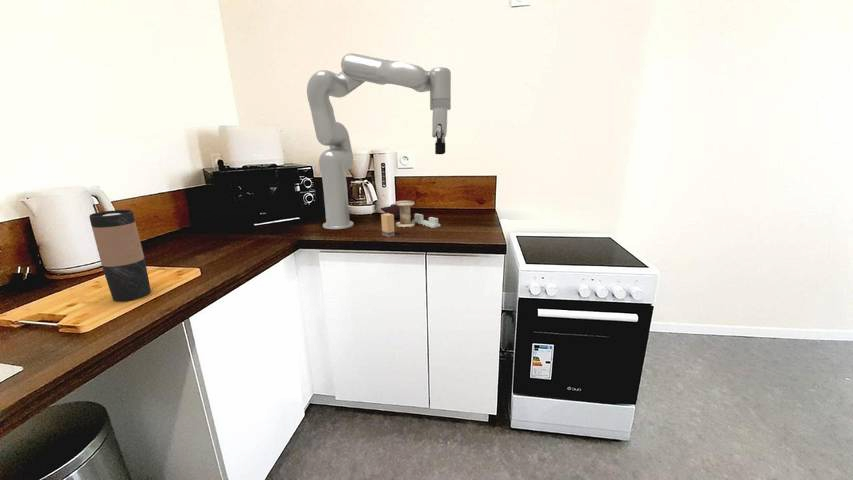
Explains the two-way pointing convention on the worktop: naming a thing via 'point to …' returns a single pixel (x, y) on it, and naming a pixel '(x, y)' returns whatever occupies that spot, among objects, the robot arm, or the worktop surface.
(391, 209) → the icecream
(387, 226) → the tan rectangular block
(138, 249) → the travel mug
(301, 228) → the worktop surface
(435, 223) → the notch board
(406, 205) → the spool
